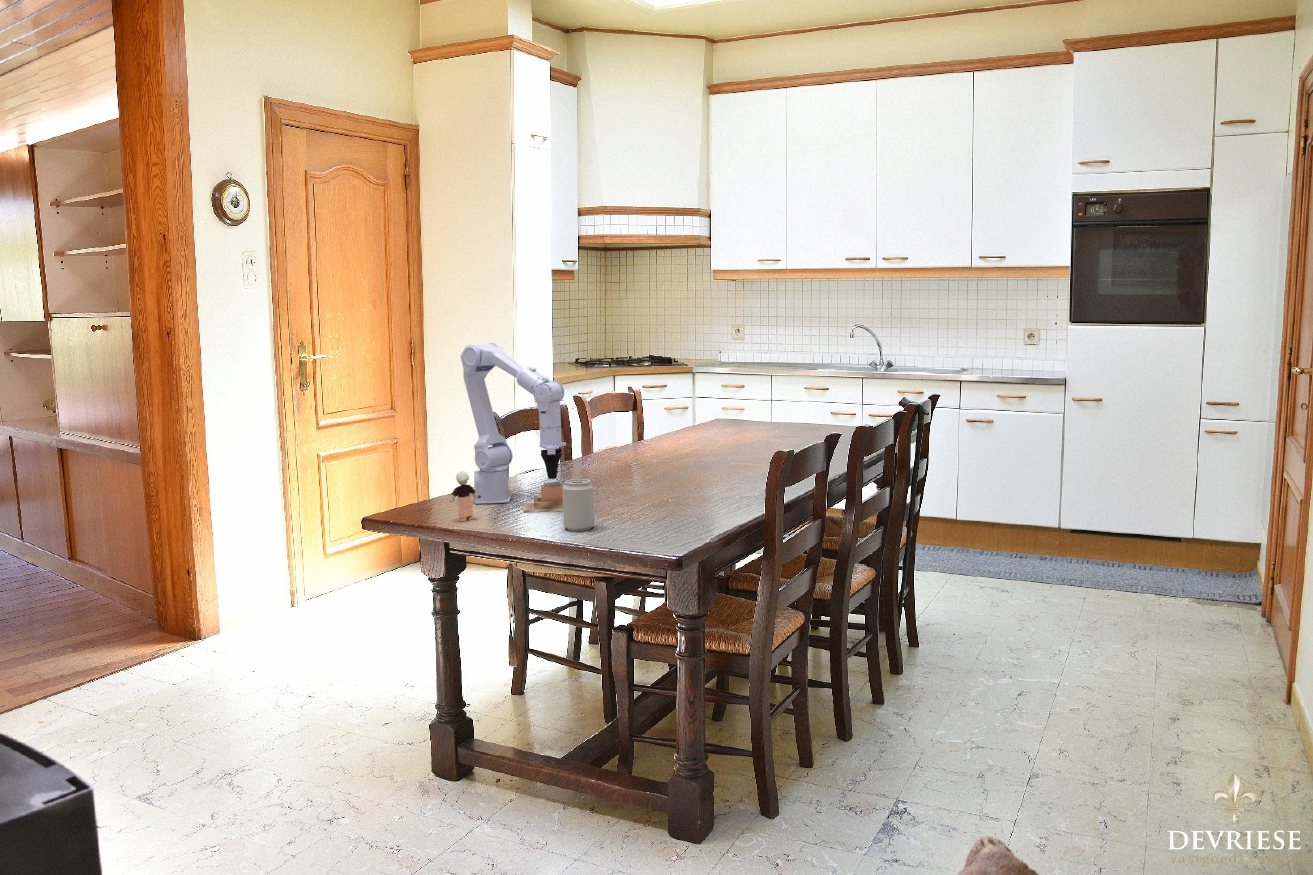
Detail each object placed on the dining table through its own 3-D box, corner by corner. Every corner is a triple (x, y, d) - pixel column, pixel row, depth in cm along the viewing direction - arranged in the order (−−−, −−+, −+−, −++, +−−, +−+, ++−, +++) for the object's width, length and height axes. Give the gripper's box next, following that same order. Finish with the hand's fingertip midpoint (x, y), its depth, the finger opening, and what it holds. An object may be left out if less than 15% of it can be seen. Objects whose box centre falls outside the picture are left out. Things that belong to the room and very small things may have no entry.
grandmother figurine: (470, 516, 268) (468, 468, 267) (480, 518, 266) (478, 469, 264) (447, 521, 263) (445, 473, 261) (457, 523, 260) (454, 474, 258)
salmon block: (541, 507, 274) (540, 485, 273) (541, 504, 278) (540, 482, 277) (564, 506, 275) (563, 484, 274) (563, 503, 279) (563, 481, 278)
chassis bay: (523, 512, 271) (522, 503, 271) (523, 505, 280) (523, 497, 280) (583, 509, 273) (583, 500, 273) (582, 503, 282) (582, 494, 282)
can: (594, 524, 255) (593, 477, 254) (594, 531, 248) (592, 482, 246) (564, 525, 255) (562, 478, 254) (563, 532, 248) (561, 483, 246)
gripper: (566, 429, 267) (567, 481, 269) (564, 423, 281) (566, 471, 283) (538, 431, 266) (540, 482, 268) (538, 424, 280) (540, 472, 282)
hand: (552, 477), depth 275 cm, fingers open, 4 cm apart
